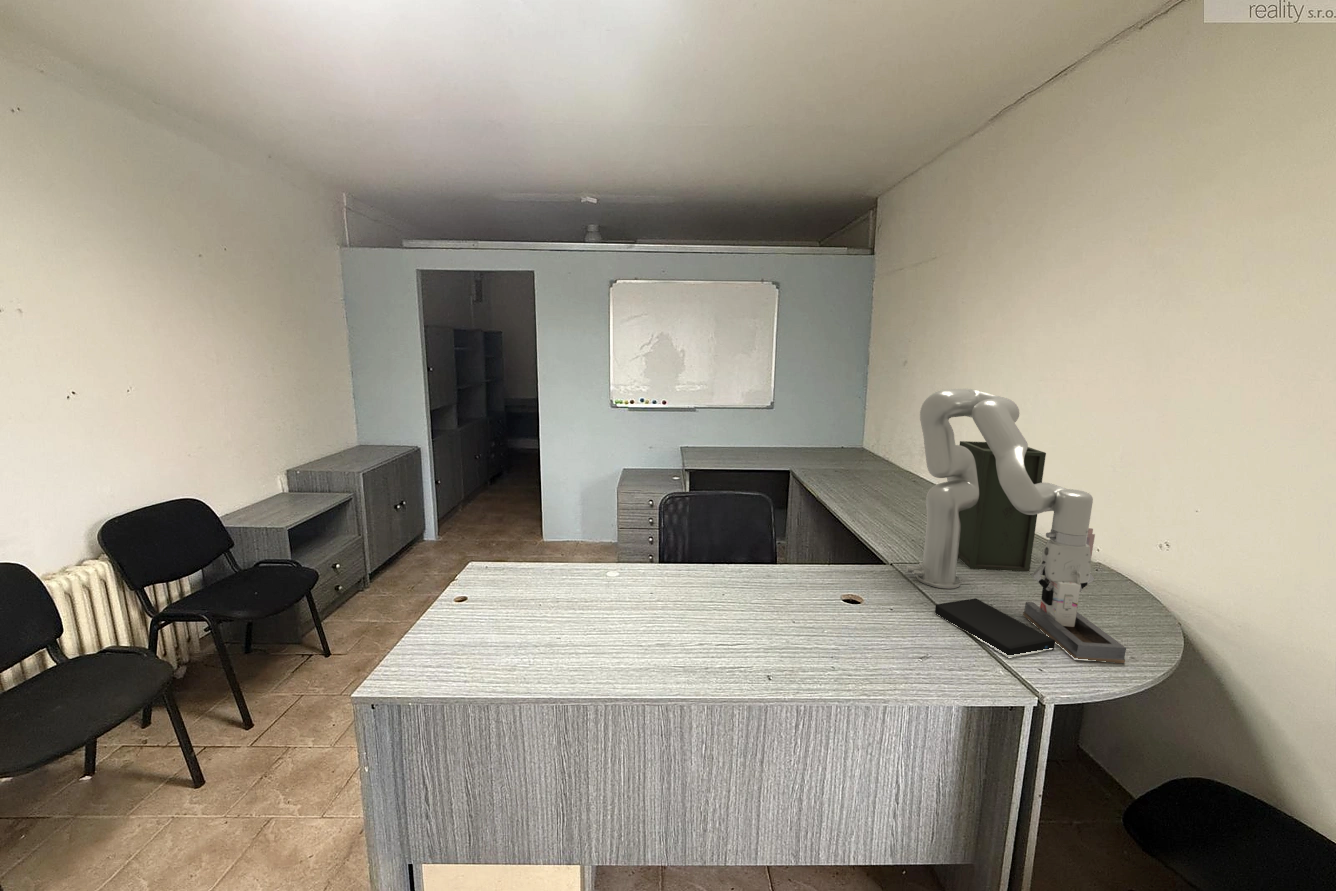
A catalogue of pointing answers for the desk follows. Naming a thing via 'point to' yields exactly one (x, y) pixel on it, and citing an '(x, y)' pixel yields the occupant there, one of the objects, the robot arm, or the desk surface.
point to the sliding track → (1077, 636)
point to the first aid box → (997, 517)
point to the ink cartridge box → (1064, 602)
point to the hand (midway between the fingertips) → (1058, 602)
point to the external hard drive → (994, 626)
